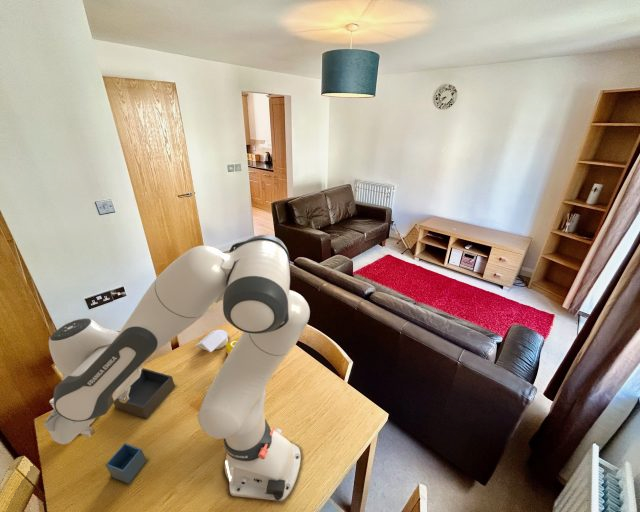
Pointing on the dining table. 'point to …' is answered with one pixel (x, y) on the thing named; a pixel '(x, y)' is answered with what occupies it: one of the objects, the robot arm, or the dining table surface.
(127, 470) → the small bin
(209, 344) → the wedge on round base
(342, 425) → the dining table surface
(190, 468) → the dining table surface
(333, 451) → the dining table surface
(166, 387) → the big bin
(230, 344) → the element tile
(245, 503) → the dining table surface
